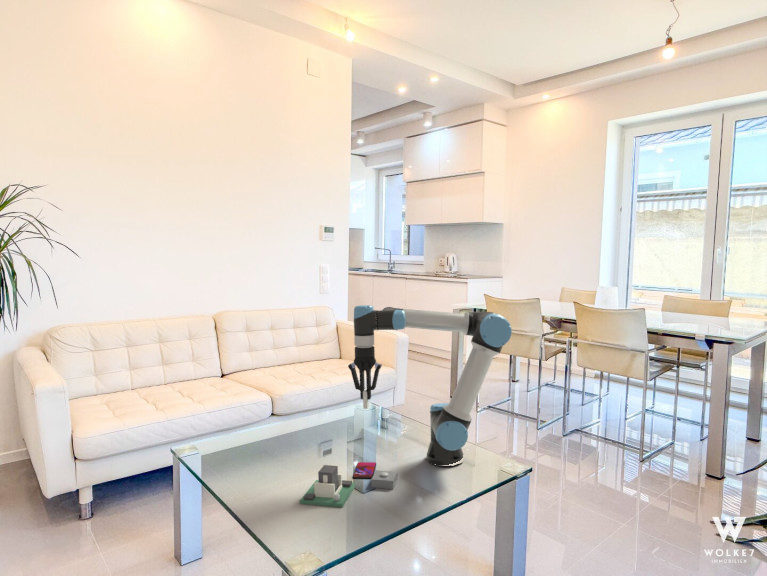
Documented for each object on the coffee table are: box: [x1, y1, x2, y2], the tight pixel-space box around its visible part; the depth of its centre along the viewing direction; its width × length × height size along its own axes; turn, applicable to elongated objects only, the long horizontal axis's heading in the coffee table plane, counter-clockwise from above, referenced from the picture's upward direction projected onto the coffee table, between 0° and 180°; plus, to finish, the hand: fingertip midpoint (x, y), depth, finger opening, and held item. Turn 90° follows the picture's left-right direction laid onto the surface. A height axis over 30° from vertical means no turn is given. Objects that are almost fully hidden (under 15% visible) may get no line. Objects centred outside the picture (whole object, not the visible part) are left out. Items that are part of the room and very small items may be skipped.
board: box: [299, 473, 356, 508], centre depth 169 cm, size 15×16×6 cm
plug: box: [317, 464, 339, 492], centre depth 169 cm, size 5×6×8 cm
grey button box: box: [370, 469, 398, 490], centre depth 177 cm, size 8×8×4 cm
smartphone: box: [352, 461, 377, 480], centre depth 189 cm, size 8×1×15 cm
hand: (366, 407), depth 183 cm, fingers closed
